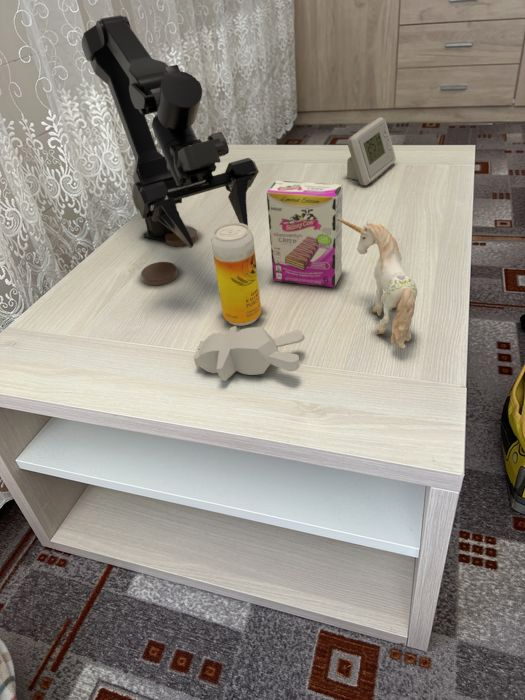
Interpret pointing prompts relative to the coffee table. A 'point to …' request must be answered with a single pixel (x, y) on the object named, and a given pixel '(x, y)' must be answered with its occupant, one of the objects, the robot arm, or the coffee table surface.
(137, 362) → the coffee table surface
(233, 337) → the bunny figurine
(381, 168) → the digital clock
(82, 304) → the coffee table surface
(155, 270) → the coaster near
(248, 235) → the beer can
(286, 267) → the candy bar box
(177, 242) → the coaster far
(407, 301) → the unicorn figurine
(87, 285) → the coffee table surface
